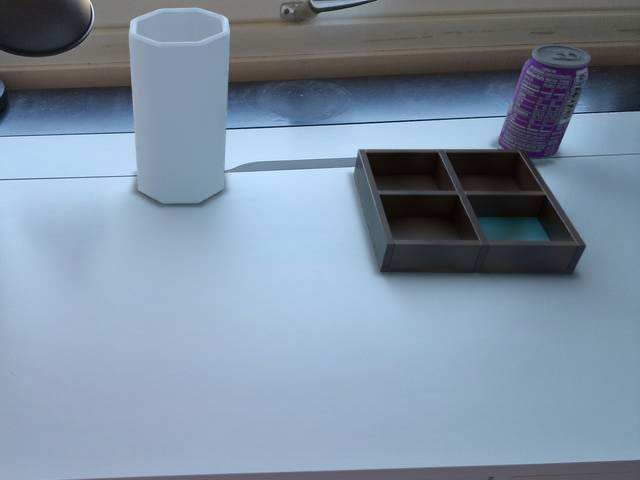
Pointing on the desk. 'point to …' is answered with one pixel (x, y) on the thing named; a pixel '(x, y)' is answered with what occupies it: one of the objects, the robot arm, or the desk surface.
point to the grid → (463, 212)
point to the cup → (180, 102)
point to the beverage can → (545, 100)
